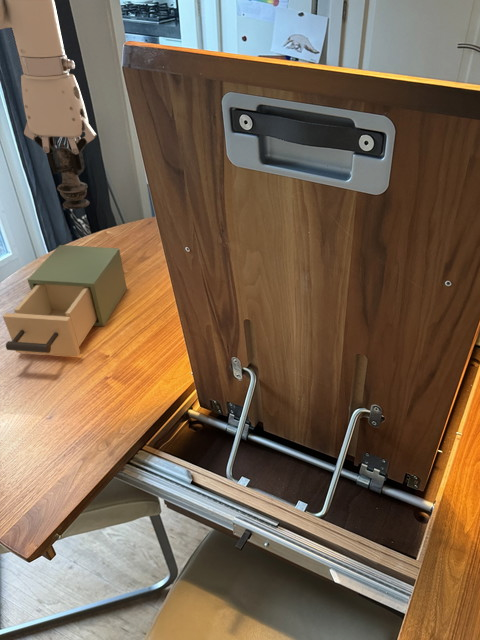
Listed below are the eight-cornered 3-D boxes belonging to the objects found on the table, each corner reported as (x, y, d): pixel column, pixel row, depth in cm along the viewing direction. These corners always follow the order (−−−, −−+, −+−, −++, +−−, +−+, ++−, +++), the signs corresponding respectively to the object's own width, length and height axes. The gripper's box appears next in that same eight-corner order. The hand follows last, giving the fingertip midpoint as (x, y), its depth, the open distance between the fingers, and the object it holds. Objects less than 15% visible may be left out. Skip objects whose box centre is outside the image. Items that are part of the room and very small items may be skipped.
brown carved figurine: (90, 197, 110) (77, 137, 102) (92, 208, 106) (79, 146, 98) (60, 200, 108) (46, 139, 100) (61, 211, 104) (46, 148, 96)
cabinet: (103, 326, 101) (93, 283, 95) (41, 322, 102) (27, 279, 96) (127, 288, 113) (119, 248, 106) (70, 285, 113) (59, 244, 107)
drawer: (66, 374, 89) (55, 337, 84) (2, 369, 89) (-13, 332, 84) (104, 315, 103) (96, 281, 98) (48, 312, 103) (37, 277, 98)
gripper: (98, 65, 94) (115, 168, 105) (8, 60, 94) (36, 164, 106) (83, 72, 88) (103, 181, 100) (-12, 68, 88) (19, 176, 100)
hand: (68, 171), depth 103 cm, fingers closed on brown carved figurine, 3 cm apart
